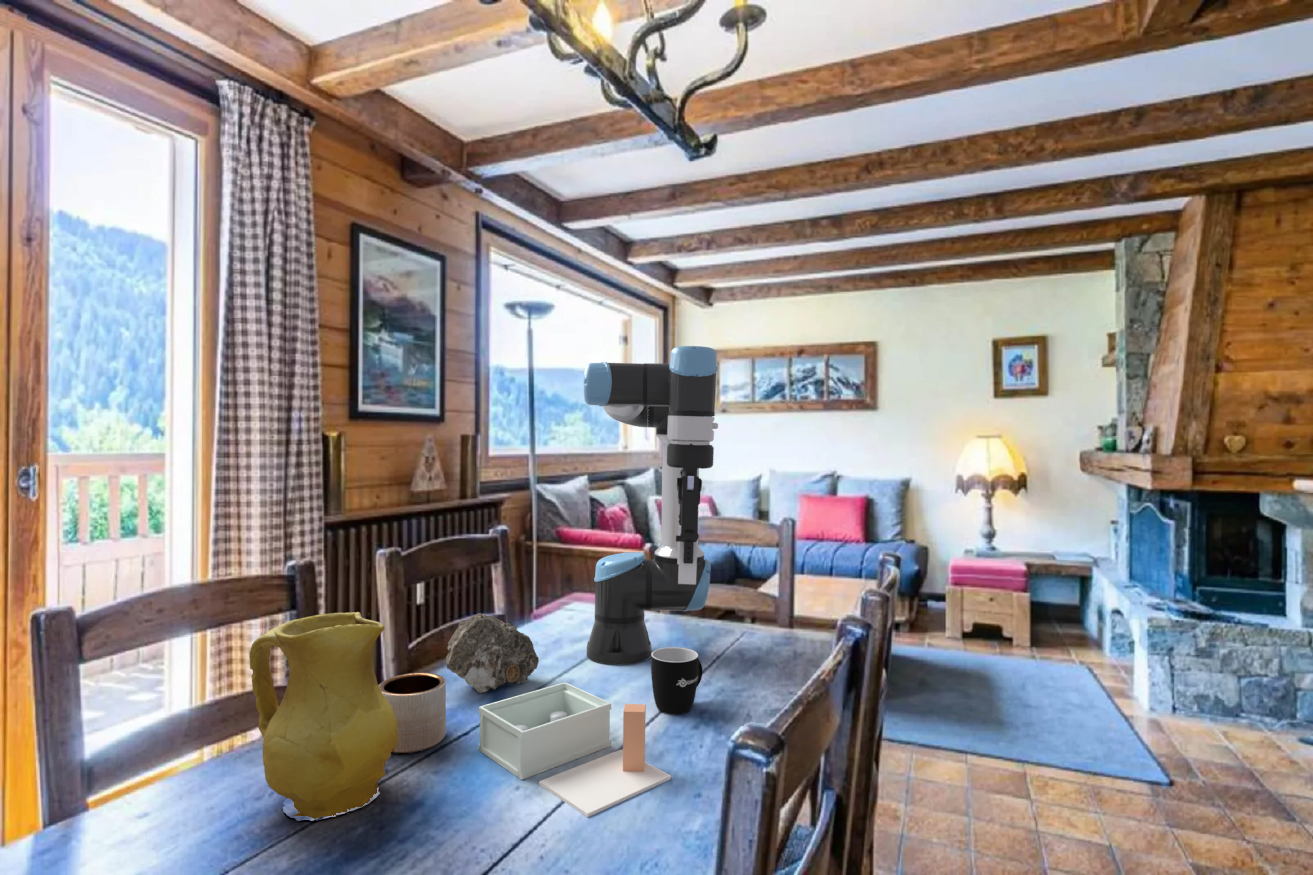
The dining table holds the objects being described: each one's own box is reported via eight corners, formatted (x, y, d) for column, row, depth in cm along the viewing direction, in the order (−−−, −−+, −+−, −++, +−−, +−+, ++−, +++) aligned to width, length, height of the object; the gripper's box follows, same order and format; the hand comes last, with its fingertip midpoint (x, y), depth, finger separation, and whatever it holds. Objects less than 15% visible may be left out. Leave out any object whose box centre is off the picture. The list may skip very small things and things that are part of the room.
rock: (491, 611, 133) (473, 583, 146) (436, 671, 130) (423, 636, 143) (554, 662, 141) (532, 630, 154) (504, 719, 138) (485, 682, 151)
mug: (674, 722, 124) (675, 665, 124) (640, 707, 130) (641, 653, 130) (718, 704, 132) (718, 651, 132) (683, 691, 138) (684, 641, 138)
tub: (564, 721, 123) (565, 682, 123) (610, 745, 114) (611, 703, 114) (478, 750, 112) (478, 706, 112) (521, 780, 102) (522, 732, 102)
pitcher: (309, 845, 85) (311, 638, 86) (230, 808, 94) (233, 623, 96) (424, 790, 99) (424, 613, 100) (344, 763, 109) (346, 602, 110)
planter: (459, 732, 118) (459, 676, 118) (417, 760, 108) (418, 699, 108) (406, 723, 122) (407, 668, 122) (361, 749, 112) (362, 690, 112)
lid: (621, 754, 112) (621, 693, 112) (671, 781, 103) (671, 715, 103) (539, 786, 101) (540, 719, 101) (587, 819, 92) (588, 746, 92)
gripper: (719, 447, 99) (713, 594, 100) (709, 440, 124) (705, 558, 125) (666, 445, 99) (661, 592, 100) (667, 439, 124) (663, 556, 125)
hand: (686, 573), depth 112 cm, fingers open, 13 cm apart
